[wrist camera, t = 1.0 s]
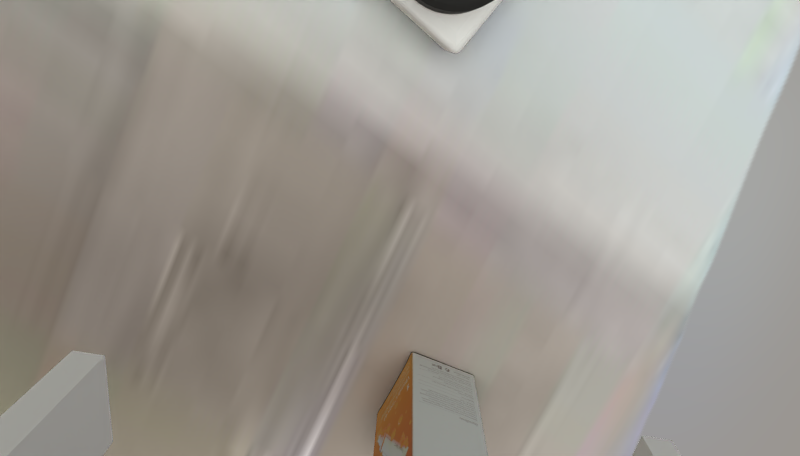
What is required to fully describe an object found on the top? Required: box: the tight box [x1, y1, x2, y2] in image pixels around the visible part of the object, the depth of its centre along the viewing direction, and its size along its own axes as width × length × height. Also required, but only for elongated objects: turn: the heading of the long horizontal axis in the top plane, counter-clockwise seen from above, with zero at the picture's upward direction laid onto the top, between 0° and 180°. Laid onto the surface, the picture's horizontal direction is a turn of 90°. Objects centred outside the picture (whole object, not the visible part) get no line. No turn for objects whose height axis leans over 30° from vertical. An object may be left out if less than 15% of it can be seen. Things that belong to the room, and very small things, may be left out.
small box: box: [374, 353, 488, 456], centre depth 37 cm, size 8×6×13 cm
